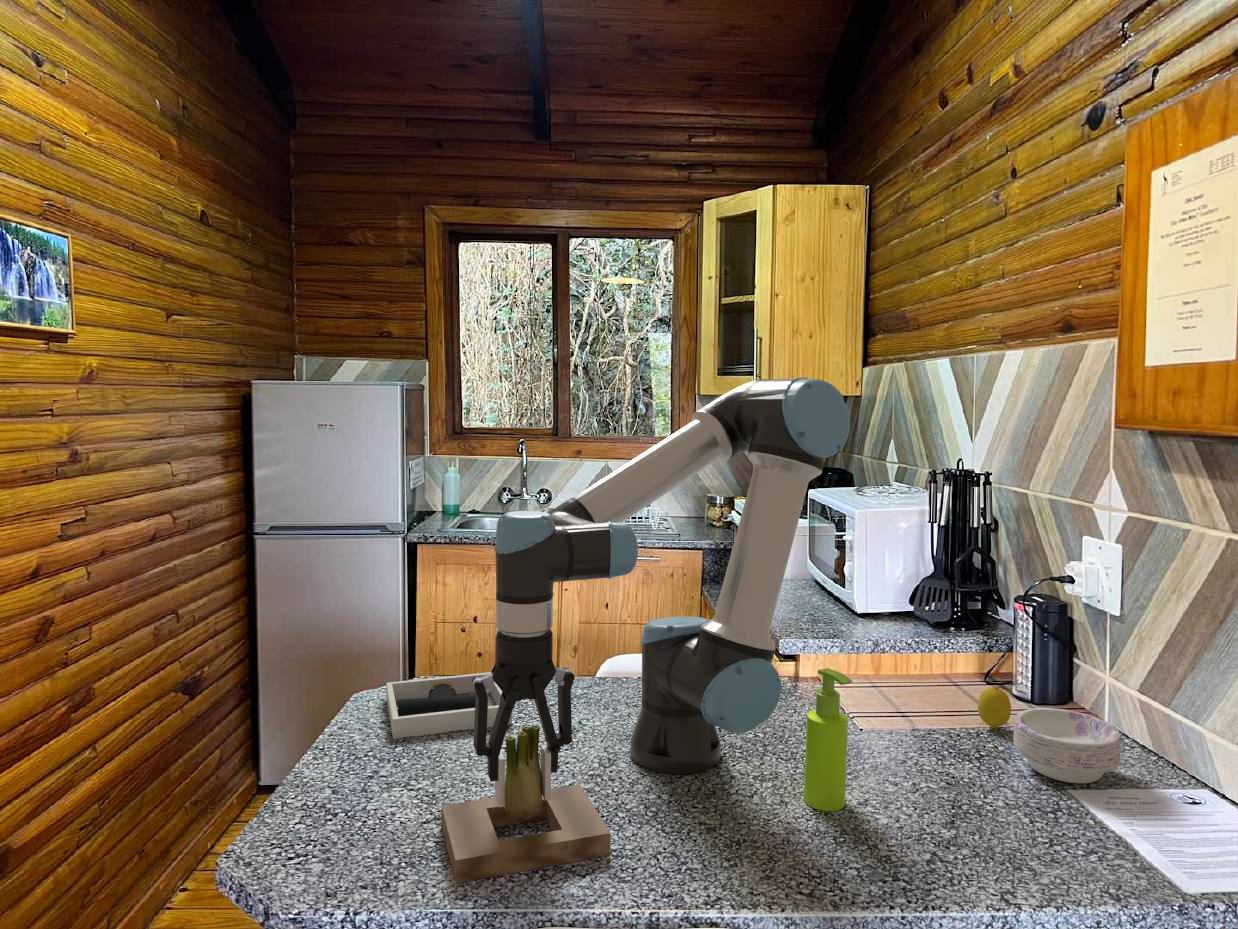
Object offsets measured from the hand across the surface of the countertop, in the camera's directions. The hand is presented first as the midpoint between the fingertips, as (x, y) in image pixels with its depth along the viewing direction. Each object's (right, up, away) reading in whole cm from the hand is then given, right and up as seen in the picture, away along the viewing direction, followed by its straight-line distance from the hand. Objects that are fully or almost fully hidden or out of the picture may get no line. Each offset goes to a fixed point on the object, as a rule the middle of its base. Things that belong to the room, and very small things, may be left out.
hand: (522, 798), depth 108 cm
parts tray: (-20, -2, +44) cm, 49 cm away
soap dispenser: (+44, -6, +12) cm, 46 cm away
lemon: (+82, -4, +40) cm, 91 cm away
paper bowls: (+85, -5, +23) cm, 89 cm away
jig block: (0, -6, 0) cm, 6 cm away
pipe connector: (-20, -3, +42) cm, 47 cm away
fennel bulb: (0, -3, 0) cm, 3 cm away
